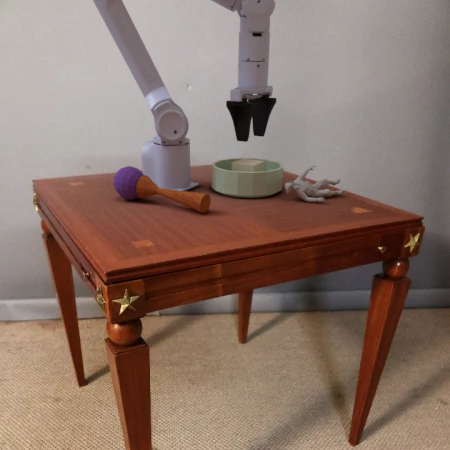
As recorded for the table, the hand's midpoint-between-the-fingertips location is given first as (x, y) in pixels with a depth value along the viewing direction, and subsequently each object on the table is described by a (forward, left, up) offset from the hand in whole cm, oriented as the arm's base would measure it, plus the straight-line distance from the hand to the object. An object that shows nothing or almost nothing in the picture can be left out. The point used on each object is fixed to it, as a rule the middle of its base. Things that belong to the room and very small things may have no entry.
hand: (250, 138), depth 100 cm
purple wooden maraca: (-8, -21, -10) cm, 25 cm away
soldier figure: (+15, -2, -10) cm, 18 cm away
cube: (+1, -3, -9) cm, 9 cm away
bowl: (+1, -3, -9) cm, 10 cm away
